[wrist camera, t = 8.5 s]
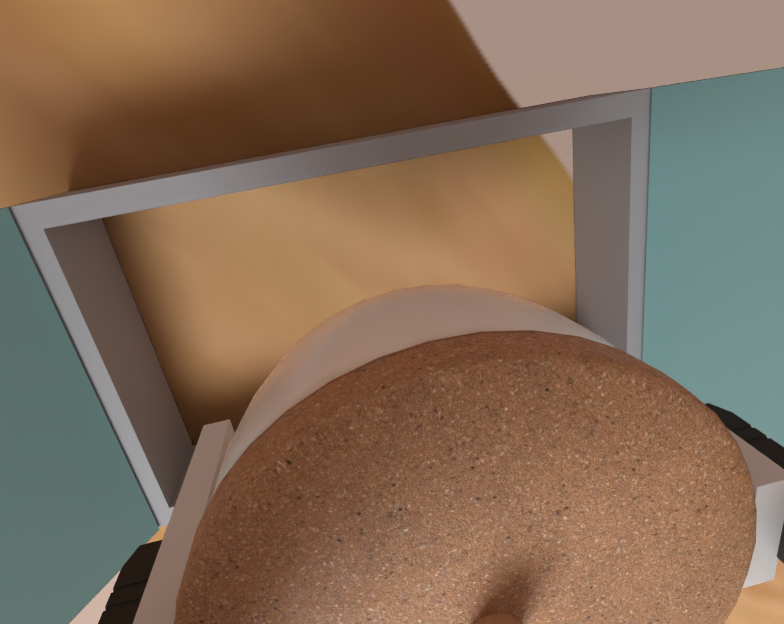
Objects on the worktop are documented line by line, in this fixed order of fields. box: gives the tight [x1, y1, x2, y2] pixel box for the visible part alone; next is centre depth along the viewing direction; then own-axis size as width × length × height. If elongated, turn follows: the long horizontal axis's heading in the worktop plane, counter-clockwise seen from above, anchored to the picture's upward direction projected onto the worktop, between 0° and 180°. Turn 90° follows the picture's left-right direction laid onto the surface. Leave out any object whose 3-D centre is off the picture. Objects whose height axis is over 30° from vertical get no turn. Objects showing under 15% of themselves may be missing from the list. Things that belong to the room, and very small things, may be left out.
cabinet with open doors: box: [0, 67, 784, 624], centre depth 21 cm, size 34×16×12 cm, turn 100°
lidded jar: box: [175, 284, 757, 624], centre depth 11 cm, size 11×11×9 cm
